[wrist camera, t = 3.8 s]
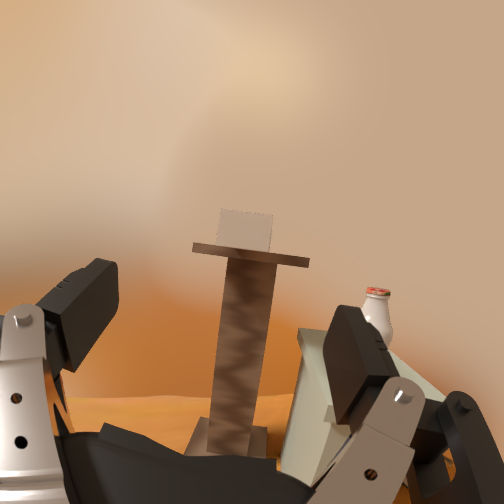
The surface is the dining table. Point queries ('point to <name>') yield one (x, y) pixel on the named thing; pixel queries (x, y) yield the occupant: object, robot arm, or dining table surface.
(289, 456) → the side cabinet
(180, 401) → the dining table surface
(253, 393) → the walnut stand
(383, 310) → the fruit juice
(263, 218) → the panel bar
